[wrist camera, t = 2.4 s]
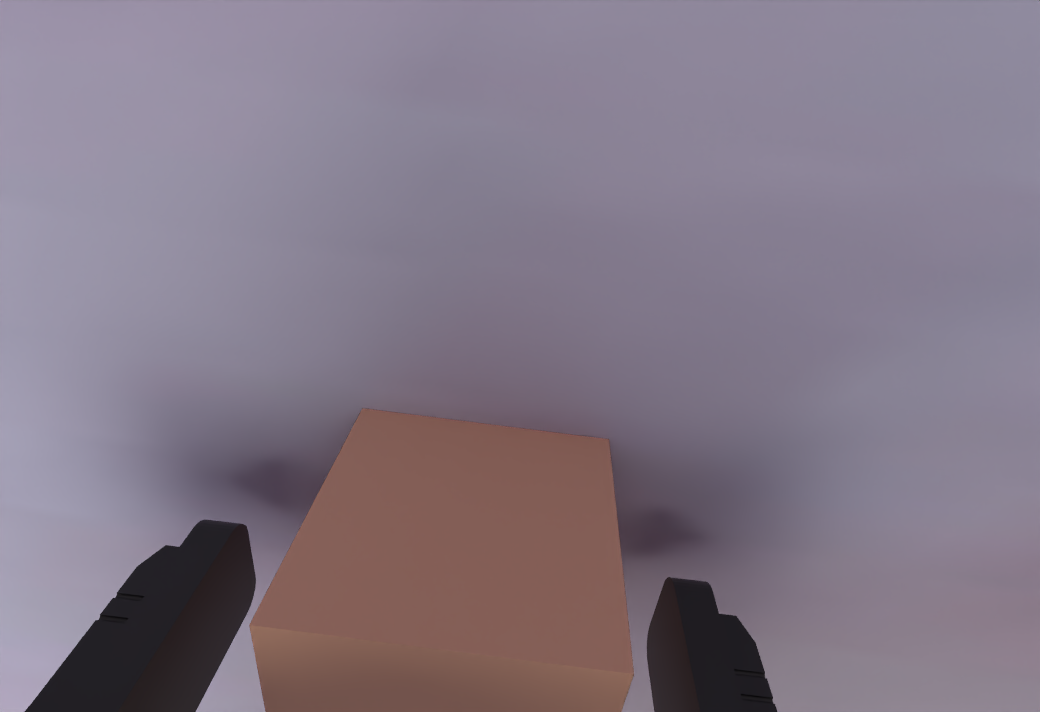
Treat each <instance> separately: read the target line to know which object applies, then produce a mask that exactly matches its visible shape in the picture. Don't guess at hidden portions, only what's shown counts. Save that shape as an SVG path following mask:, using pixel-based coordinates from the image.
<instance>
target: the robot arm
mask: <svg viewBox="0 0 1040 712" xmlns="http://www.w3.org/2000/svg"><path fill="white" fill-rule="evenodd" d="M255 584H256V577H255V571H254V565H253V559H252V553H251V547H250V541H249V535H248V530H247V527H246V526H245V525H244V524H237V523H229V522H221V521H212V520H202V521H200V522H199V523H197V524H196V525H195V527H194V528H193V529H192V531H191V532H190V533H189V535H188V536H187V538H186V539H185V540H184V542H183V543H182V545H181V546H180V547H176V546H168V545H166V546H164V547H163V548H162V549H160V550H159V551H158V552H156V553H155V554H153V555H152V556H151V557H149V558H148V559H147V560H145V561H144V562H143V563H141V564H140V565H139V566H137V568H136V569H135V570H134V571H133V573H132V574H131V575H130V577H129V578H128V579H127V580H126V582H125V583H124V584H123V586H122V587H121V588H120V590H119V591H118V592H117V596H116V598H113V599H112V600H111V601H110V602H109V604H108V605H107V606H106V608H105V609H104V610H103V612H102V613H101V614H100V618H99V620H96V621H95V622H94V623H93V625H92V626H91V627H90V628H89V630H88V631H87V632H86V634H85V635H84V636H83V637H82V639H81V640H80V641H79V643H78V644H77V645H76V647H75V648H74V649H73V650H72V652H71V653H70V654H69V656H68V657H67V658H66V660H65V661H64V662H63V663H62V665H61V666H60V667H59V669H58V670H57V671H56V672H55V674H54V675H53V676H52V678H51V679H50V680H49V682H48V683H47V684H46V685H45V687H44V688H43V689H42V691H41V692H40V693H39V694H38V696H37V697H36V698H35V700H34V701H33V702H32V704H31V705H30V706H29V707H28V708H27V709H26V711H25V712H196V710H197V708H198V706H199V704H200V702H201V700H202V698H203V696H204V694H205V693H206V691H207V689H208V687H209V685H210V683H211V681H212V679H213V677H214V675H215V673H216V672H217V670H218V668H219V666H220V664H221V662H222V660H223V658H224V656H225V654H226V653H227V651H228V649H229V647H230V645H231V643H232V641H233V639H234V637H235V635H236V633H237V632H238V630H239V628H240V626H241V624H242V622H243V620H244V618H245V616H246V614H247V612H248V610H249V608H250V606H251V603H252V600H253V596H254V591H255ZM647 660H648V668H649V675H650V683H651V690H652V697H653V704H654V711H655V712H777V709H776V706H775V704H773V701H772V699H773V697H772V693H771V690H770V687H769V684H768V681H767V679H765V671H764V668H763V665H762V662H761V659H760V656H759V652H758V649H757V646H756V643H755V642H754V640H753V639H752V637H751V636H750V635H749V633H748V632H747V630H746V629H745V628H744V626H743V625H742V623H741V622H740V621H739V619H738V618H737V616H733V615H724V614H719V613H718V609H717V605H716V602H715V598H714V594H713V591H712V588H711V586H710V584H709V583H708V582H703V581H695V580H687V579H678V578H670V577H668V578H667V579H666V580H665V582H664V585H663V588H662V591H661V594H660V597H659V600H658V603H657V606H656V609H655V612H654V614H653V617H652V620H651V623H650V627H649V631H648V638H647Z"/></svg>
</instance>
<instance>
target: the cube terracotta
mask: <svg viewBox="0 0 1040 712" xmlns="http://www.w3.org/2000/svg"><path fill="white" fill-rule="evenodd" d="M249 626H250V631H251V636H252V642H253V647H254V652H255V658H256V663H257V668H258V674H259V679H260V684H261V689H262V695H263V700H264V705H265V711H266V712H621V711H622V708H623V705H624V702H625V699H626V696H627V693H628V690H629V687H630V684H631V681H632V679H633V676H634V670H633V660H632V651H631V642H630V632H629V623H628V613H627V604H626V595H625V585H624V576H623V566H622V557H621V548H620V538H619V529H618V519H617V510H616V501H615V491H614V482H613V472H612V463H611V454H610V444H609V439H603V438H595V437H587V436H579V435H571V434H563V433H555V432H547V431H539V430H531V429H523V428H515V427H507V426H500V425H492V424H484V423H476V422H468V421H460V420H452V419H444V418H436V417H428V416H420V415H412V414H404V413H396V412H388V411H380V410H372V409H365V408H362V410H361V412H360V414H359V416H358V418H357V420H356V422H355V423H354V425H353V427H352V429H351V431H350V433H349V435H348V437H347V439H346V441H345V443H344V445H343V446H342V448H341V450H340V452H339V454H338V456H337V458H336V460H335V462H334V464H333V466H332V468H331V469H330V471H329V473H328V475H327V477H326V479H325V481H324V483H323V485H322V487H321V489H320V491H319V492H318V494H317V496H316V498H315V500H314V502H313V504H312V506H311V508H310V510H309V512H308V514H307V515H306V517H305V519H304V521H303V523H302V525H301V527H300V529H299V531H298V533H297V535H296V537H295V538H294V540H293V542H292V544H291V546H290V548H289V550H288V552H287V554H286V556H285V558H284V560H283V561H282V563H281V565H280V567H279V569H278V571H277V573H276V575H275V577H274V579H273V581H272V583H271V584H270V586H269V588H268V590H267V592H266V594H265V596H264V598H263V600H262V602H261V604H260V606H259V608H258V609H257V611H256V613H255V615H254V617H253V619H252V621H251V623H250V625H249Z"/></svg>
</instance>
